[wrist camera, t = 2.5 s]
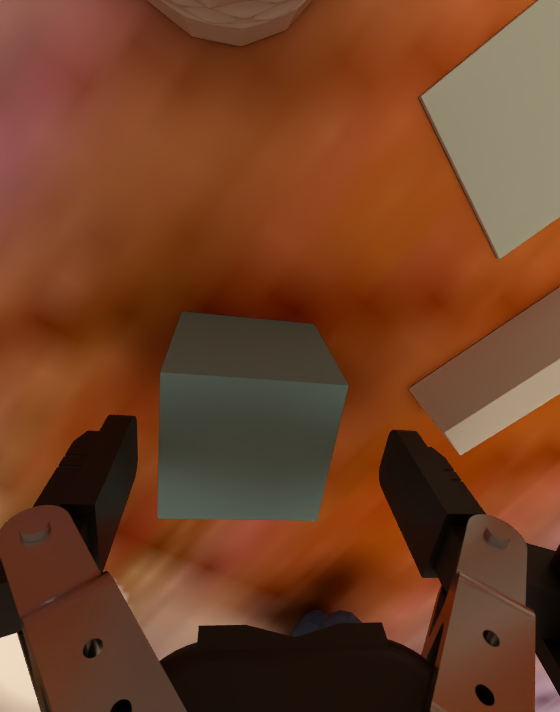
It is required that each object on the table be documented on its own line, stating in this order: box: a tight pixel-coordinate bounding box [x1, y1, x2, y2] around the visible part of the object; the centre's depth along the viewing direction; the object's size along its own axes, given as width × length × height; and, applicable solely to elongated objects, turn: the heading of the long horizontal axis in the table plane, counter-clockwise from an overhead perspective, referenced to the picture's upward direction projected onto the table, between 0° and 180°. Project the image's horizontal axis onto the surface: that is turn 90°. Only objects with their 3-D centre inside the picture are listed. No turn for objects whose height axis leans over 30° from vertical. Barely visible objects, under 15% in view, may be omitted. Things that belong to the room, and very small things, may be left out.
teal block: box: [157, 311, 349, 521], centre depth 15 cm, size 6×6×6 cm
